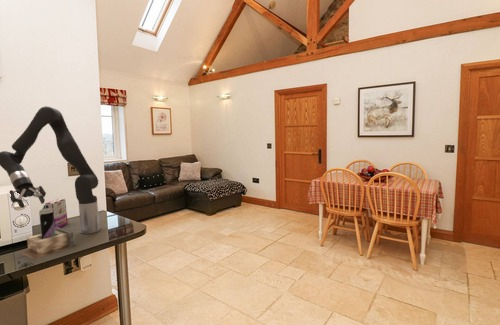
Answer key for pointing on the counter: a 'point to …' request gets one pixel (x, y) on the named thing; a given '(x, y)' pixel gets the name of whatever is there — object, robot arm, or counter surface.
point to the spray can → (47, 222)
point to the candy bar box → (59, 212)
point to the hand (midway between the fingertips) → (33, 204)
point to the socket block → (47, 243)
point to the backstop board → (70, 244)
